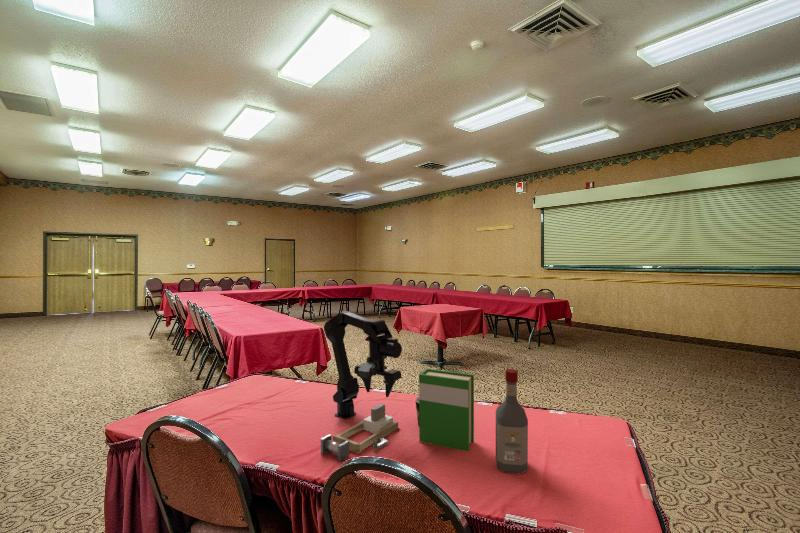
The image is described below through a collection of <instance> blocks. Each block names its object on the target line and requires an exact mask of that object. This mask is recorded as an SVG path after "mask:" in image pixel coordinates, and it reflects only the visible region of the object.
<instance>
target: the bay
mask: <svg viewBox="0 0 800 533" xmlns="http://www.w3.org/2000/svg"><path fill="white" fill-rule="evenodd" d="M398 428H399V421H398V420H393V423H391V424H389V425H388V426H386V427H385V428H383V429H381V430H380V431H378V432H376V433H375V434H374V433H372V434H371V435H370V436H368V437H367V438H365V439H363V440H362V441H360V442H357V441H355V440H351V439H349V438H351V437H352V436H354V435H356V434H357V433H359V432H361V431H363V430H362V429H363V420H362V421H360V422H358V423H356V424H355V425H353V426H351V427H348V428H347V429H345V430H344V431H341V432H340V433H338V434H332V441H335V442H337V443H340V444H342V443H343V442H345V441H349V450H350V451H349V452H352V451H353V452H352V453H354V452H356V453H355V454H357V453H358V452H359V453H361V452H362V450H363V449H364V450H366V449H367V448H369V447H370V446H372V445H374V440H378V438H379V437H381V438H383V439H384V438H385V437H386V436H388V435H389V434H391V433H392V432H395V431H396V430H397V429H398ZM348 437H349V438H348ZM368 446H369V447H368ZM365 448H366V449H365ZM364 450H363V451H364ZM360 451H361V452H360ZM359 453H358V454H359Z"/></svg>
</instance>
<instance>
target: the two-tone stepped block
mask: <svg viewBox="0 0 800 533" xmlns="http://www.w3.org/2000/svg"><path fill="white" fill-rule="evenodd" d="M362 421H363V430H362V431H365V430H366V432H368V431H370V432H369V433H371V434H375V433H376V432H378V431H380V430H381V429H383V428H385V427H386V426H388V425H389V424H391V423H393V422H394V417H393V416H390V415H387V414H386V404H384V403H379V404H377V405H376V406H373V407H372V408H370V415H369V416H367V417H365V418H364V419H363V420H362Z"/></svg>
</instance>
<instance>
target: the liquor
mask: <svg viewBox="0 0 800 533" xmlns="http://www.w3.org/2000/svg"><path fill="white" fill-rule="evenodd" d="M504 375H505V376H504V377H505V379H504V380H505V382H506V384H505V385H506V386H505V389H506V391H505V392H506V393H505V397H504V398H505V399H504V401H502V403H501V404H499V405H498V407H496V409H495V462H496V467H497V469H498V470H500V471H501V472H503V473H506V472H508V474H517V473H521V474H523V473H525V472H527V471H528V468H529V466H528V465H529V462H528V458H529V457H528V456H529V455H528V454H529V452H528V451H529V450H528V448H529V447H528V446H529V439H528V438H529V420H528V416H527V414H526V411H525V408H524V407H523V406H522V405H521V403H520V402H519V401H518V392H517V389H518V388H517V385H518V384H517V383H518V380H519V378H518V376H519V375H518V370H517V369H512V368H508V369H505V372H504ZM524 471H525V472H524ZM522 472H523V473H522Z"/></svg>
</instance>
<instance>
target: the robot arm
mask: <svg viewBox="0 0 800 533" xmlns="http://www.w3.org/2000/svg"><path fill="white" fill-rule="evenodd" d="M348 325H350V326H352V327H355V328H358V329H360V330H362V332H363V333H364V334H365V335H367V337H366V338H364V341H365V342H366V341H367V342H368V355H369V356H367V357H366V362H364V363H360V364H357V365H355V367H354V370H353V372H354V374H355V375H357V376H356V377H355V376H353V374H352V373H351V367H350V365H349V364H350V363H349V359H348V355H347V351H346V345H345V341H344V339H345V335H346V327H347V326H348ZM323 331H324V334H325V337H326V338H327V339H328V341H329V342H330V343H331V346H332V350H333V351H332V352H333V355H334V361H335V365H336V369H337V374H338V378H337V379H338V380H337V384H336V392H334V394H333V395H332V400H333V402H334V403H336V408H337V410H336V411H337V412H335V413H334V416H335V417H339V418H342V419H345V420H347V419H349V418H352V416H355V415H356V414H357V412H356V411H355V404H354V400H355V399H357V398H358V394H359V392H360V385H359V380H358V378H360V379H361V380H362V382H363V384H364V388H365V390H366V392H367V393H370V391H371V387H372V386H371V385H372V377H375V376H377V375H378V376H383V379H384V380H383V381H382V382H383V383H384V385H385V386H384V390H385V396H386V397H385V398H388V397H390V395H391V392H392V390H393V387H394V385H395V383H396V381H398V380H400V379H402V372H401V371H400V370H399V369H398V370H397V369H393V368H392V369H389V370H387V369H388V367H387V365H385V364H386V363H385V362H386V361H385V359H387V358H392V359H398V358H399V357H400V356H401V355H402V352H403V347H402V344H401V343H400V342H399V339H398V338H393V335H392V332H391V330H389V327H388V325H387V323H386V320H384V319H382V318H381V319H379V318H367V317H364V316H361V315H358V314H356V313H353V312H351V311H349V310H346V311H340V312H338V313H337V314H336V315H335V316H334V317H332V318H331V319H329V320H327V321H326V322H325V323H324V325H323Z"/></svg>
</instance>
